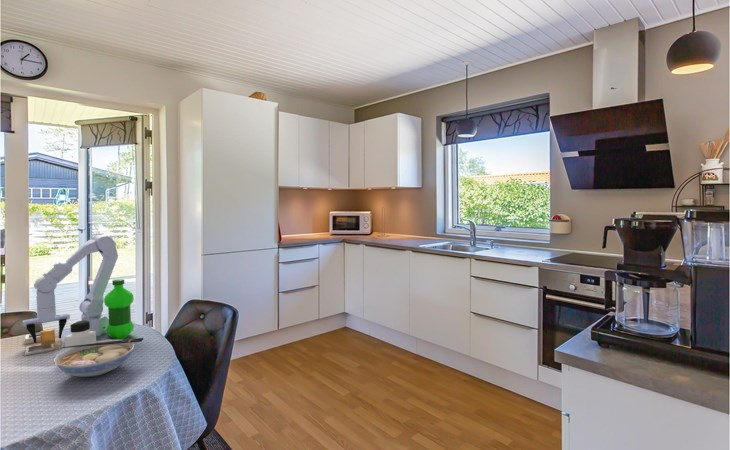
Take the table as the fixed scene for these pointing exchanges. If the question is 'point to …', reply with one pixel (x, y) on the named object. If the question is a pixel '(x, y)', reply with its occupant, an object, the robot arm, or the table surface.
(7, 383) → the table surface
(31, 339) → the frame
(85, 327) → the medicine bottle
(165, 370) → the table surface
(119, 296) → the plastic bottle
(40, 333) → the button
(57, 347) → the tan flat plate
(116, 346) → the ramen bowl
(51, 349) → the grey square frame
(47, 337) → the cap
